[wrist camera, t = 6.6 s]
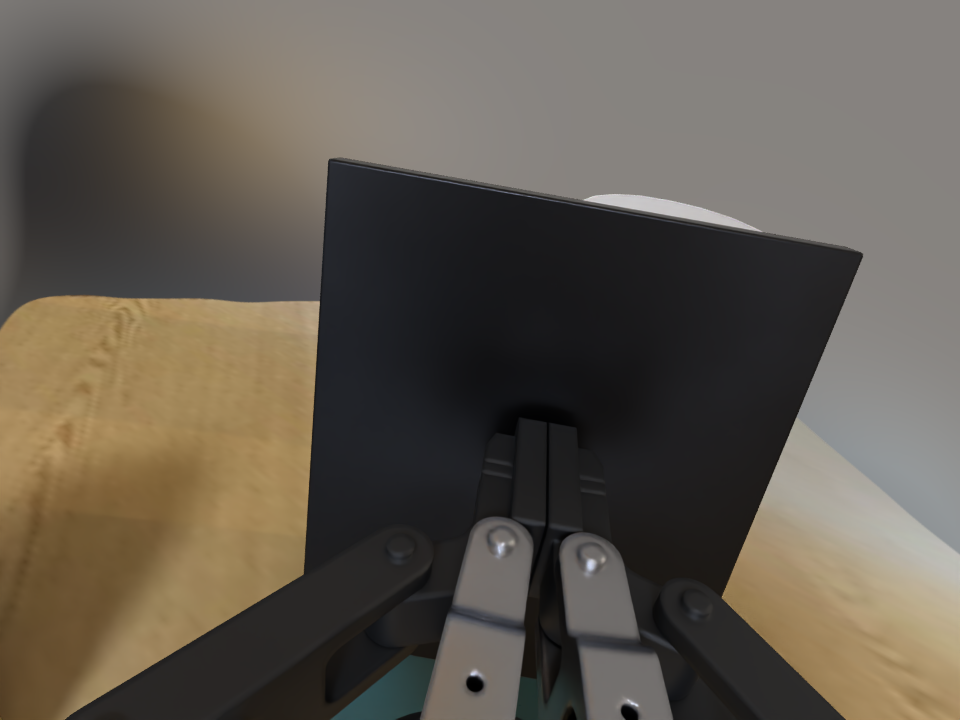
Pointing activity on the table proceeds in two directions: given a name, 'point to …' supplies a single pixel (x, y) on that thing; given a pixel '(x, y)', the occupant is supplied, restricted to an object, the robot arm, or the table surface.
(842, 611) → the table surface
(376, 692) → the storage box
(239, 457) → the table surface
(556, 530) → the robot arm
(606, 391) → the black plate
